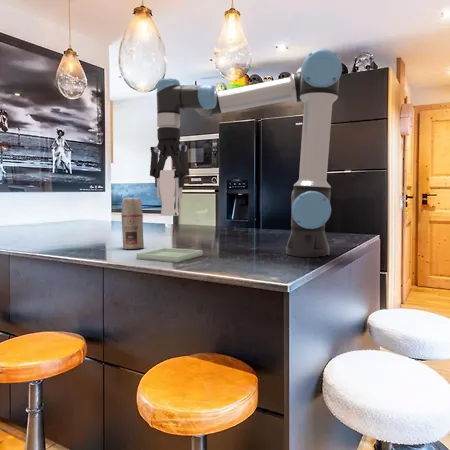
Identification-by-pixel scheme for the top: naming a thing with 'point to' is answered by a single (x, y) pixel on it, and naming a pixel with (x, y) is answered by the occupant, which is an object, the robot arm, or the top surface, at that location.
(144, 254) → the tray
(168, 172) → the beer glass
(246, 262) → the top surface
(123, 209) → the spray can
